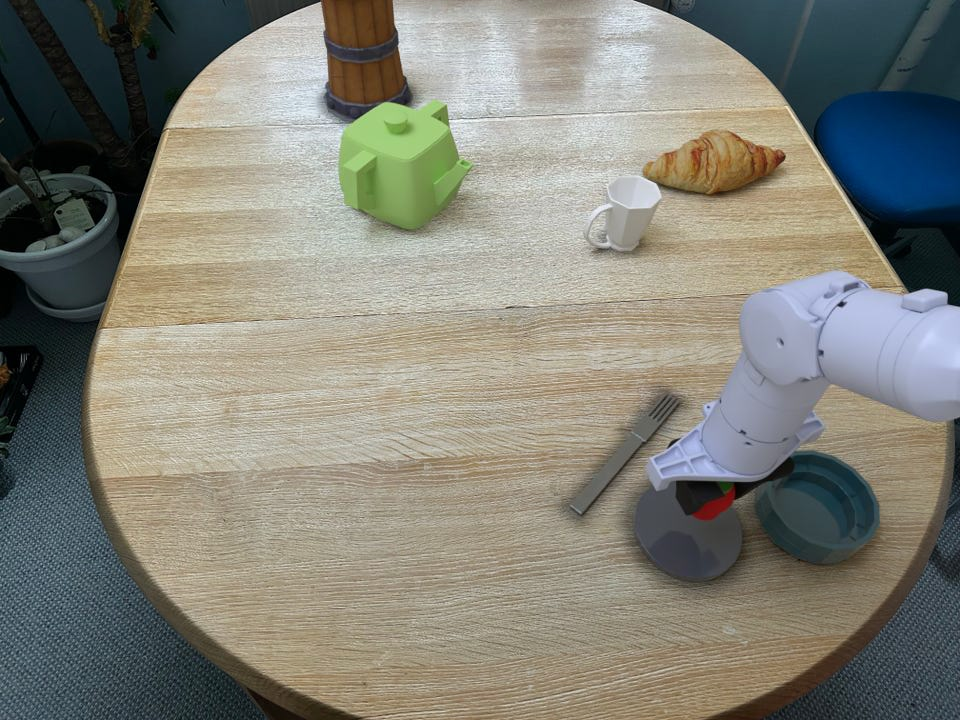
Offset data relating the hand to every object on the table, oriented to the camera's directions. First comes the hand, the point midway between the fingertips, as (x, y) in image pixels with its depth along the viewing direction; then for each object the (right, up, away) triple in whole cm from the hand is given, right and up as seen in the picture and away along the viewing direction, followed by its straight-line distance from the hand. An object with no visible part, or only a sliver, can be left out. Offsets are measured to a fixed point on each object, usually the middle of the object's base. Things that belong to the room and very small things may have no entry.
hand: (706, 497), depth 59 cm
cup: (-2, +27, +30) cm, 41 cm away
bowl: (+12, -3, +6) cm, 14 cm away
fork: (-4, +3, +11) cm, 12 cm away
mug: (-39, +56, +53) cm, 87 cm away
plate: (0, -4, +5) cm, 7 cm away
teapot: (-29, +33, +35) cm, 56 cm away
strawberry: (0, -1, +1) cm, 1 cm away
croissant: (+14, +39, +40) cm, 58 cm away
